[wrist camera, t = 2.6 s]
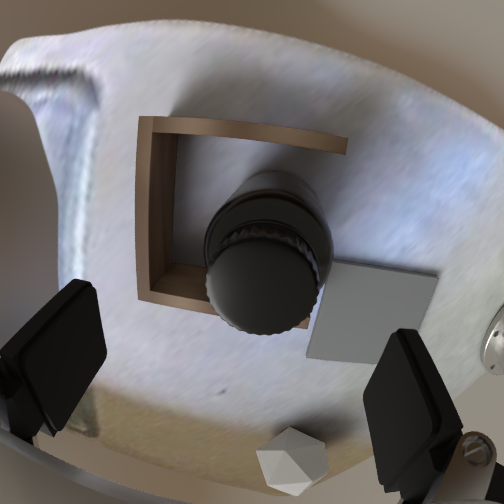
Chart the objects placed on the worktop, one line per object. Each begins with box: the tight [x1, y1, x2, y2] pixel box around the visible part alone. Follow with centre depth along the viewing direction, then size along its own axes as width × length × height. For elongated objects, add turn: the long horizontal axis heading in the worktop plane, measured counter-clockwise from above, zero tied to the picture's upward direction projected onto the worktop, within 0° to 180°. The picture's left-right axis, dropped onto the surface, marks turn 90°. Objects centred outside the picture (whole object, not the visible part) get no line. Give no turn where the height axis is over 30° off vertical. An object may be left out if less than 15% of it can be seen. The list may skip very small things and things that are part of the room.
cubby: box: [135, 116, 348, 329], centre depth 21 cm, size 12×13×5 cm
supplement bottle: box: [204, 171, 334, 335], centre depth 18 cm, size 7×7×12 cm
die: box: [256, 427, 330, 496], centre depth 31 cm, size 8×9×10 cm
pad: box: [306, 259, 439, 364], centre depth 26 cm, size 10×10×1 cm
